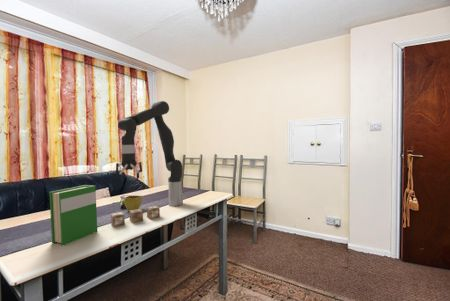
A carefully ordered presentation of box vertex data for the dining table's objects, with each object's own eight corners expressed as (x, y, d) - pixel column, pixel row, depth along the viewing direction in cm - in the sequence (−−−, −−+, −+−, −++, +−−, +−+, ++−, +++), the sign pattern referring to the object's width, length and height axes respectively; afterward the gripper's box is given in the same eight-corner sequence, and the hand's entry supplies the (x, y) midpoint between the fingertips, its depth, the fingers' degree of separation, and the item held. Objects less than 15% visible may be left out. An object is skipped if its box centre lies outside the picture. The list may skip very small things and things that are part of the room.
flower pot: (142, 208, 160) (142, 195, 159) (136, 211, 151) (136, 198, 151) (130, 208, 161) (130, 195, 160) (124, 211, 152) (123, 198, 152)
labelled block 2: (156, 215, 144) (156, 205, 144) (159, 217, 139) (159, 207, 138) (146, 217, 140) (146, 207, 140) (149, 219, 135) (149, 209, 135)
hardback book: (62, 245, 102) (60, 193, 101) (51, 243, 105) (49, 192, 104) (97, 231, 119) (95, 185, 118) (87, 229, 121) (85, 185, 120)
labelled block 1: (122, 221, 132) (122, 211, 132) (124, 224, 127) (124, 214, 127) (111, 224, 129) (110, 213, 129) (113, 227, 124) (112, 216, 124)
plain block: (140, 218, 138) (139, 208, 138) (143, 221, 133) (142, 210, 133) (129, 220, 135) (129, 210, 134) (132, 223, 130) (131, 212, 129)
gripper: (141, 151, 140) (142, 178, 141) (115, 152, 134) (116, 180, 135) (141, 152, 133) (142, 179, 134) (114, 153, 127) (116, 182, 128)
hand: (129, 179), depth 134 cm, fingers open, 8 cm apart
